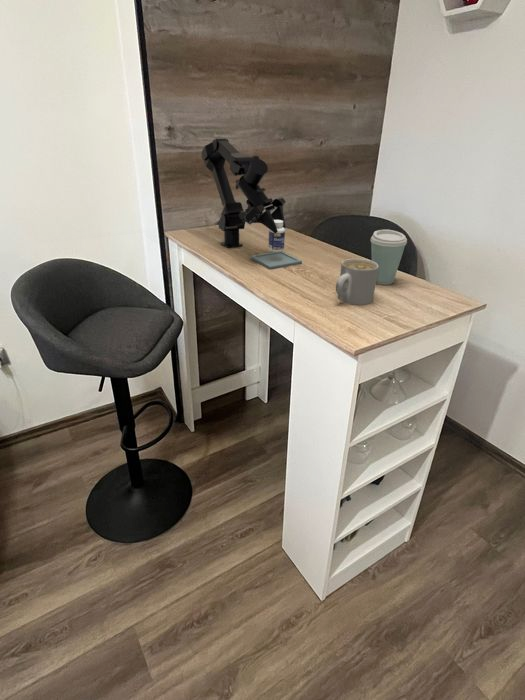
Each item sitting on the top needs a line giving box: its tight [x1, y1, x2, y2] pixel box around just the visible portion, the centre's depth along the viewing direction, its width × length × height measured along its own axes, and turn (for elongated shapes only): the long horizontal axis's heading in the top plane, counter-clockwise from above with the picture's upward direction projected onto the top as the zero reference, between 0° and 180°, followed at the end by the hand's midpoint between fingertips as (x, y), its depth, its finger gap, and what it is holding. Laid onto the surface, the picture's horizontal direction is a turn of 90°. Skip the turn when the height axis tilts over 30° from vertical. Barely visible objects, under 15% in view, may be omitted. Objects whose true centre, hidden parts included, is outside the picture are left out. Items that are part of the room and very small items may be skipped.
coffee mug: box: [335, 258, 379, 306], centre depth 117 cm, size 13×10×10 cm
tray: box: [250, 250, 303, 270], centre depth 147 cm, size 13×13×1 cm
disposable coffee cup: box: [369, 229, 408, 286], centre depth 129 cm, size 11×11×15 cm
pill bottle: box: [267, 219, 286, 252], centre depth 143 cm, size 5×5×10 cm
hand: (280, 230), depth 141 cm, fingers closed on pill bottle, 5 cm apart
